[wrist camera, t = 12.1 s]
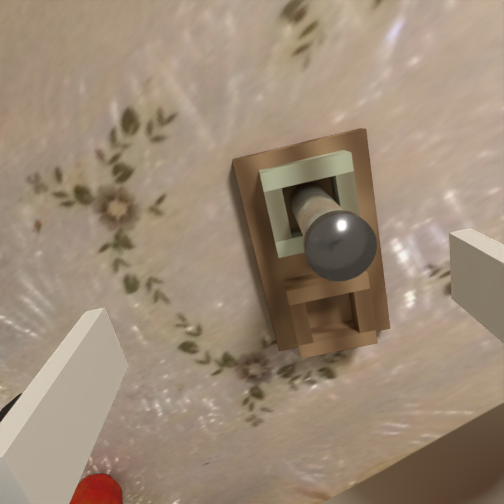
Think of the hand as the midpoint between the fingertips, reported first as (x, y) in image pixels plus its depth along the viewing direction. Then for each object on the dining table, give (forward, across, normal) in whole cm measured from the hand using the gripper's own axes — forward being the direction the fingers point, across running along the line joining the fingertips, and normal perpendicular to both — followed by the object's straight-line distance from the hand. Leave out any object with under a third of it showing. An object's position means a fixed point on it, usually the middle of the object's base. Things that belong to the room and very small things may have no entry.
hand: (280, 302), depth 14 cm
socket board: (+29, +6, -10) cm, 31 cm away
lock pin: (+27, +5, -4) cm, 28 cm away
